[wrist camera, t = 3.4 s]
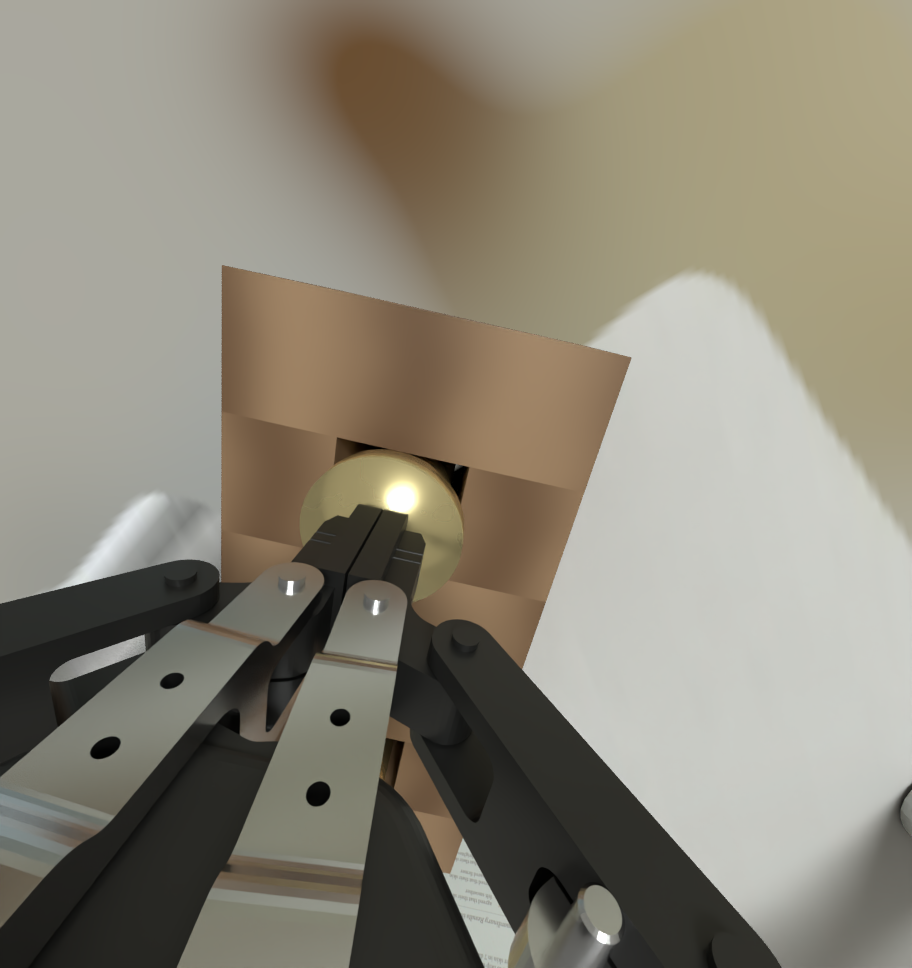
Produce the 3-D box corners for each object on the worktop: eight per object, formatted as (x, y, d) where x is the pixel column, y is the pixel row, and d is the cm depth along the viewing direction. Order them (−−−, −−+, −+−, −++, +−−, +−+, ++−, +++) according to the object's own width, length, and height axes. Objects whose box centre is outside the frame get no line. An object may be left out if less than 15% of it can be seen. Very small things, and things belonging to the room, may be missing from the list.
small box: (423, 801, 32) (383, 1094, 20) (443, 745, 30) (411, 1037, 18) (526, 826, 32) (548, 1132, 20) (553, 773, 30) (597, 1082, 18)
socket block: (577, 344, 20) (631, 357, 12) (460, 732, 29) (450, 873, 22) (324, 287, 19) (221, 265, 12) (290, 694, 29) (220, 823, 22)
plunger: (483, 417, 20) (479, 479, 12) (461, 511, 21) (444, 620, 14) (379, 393, 20) (305, 440, 12) (365, 490, 21) (294, 586, 14)
